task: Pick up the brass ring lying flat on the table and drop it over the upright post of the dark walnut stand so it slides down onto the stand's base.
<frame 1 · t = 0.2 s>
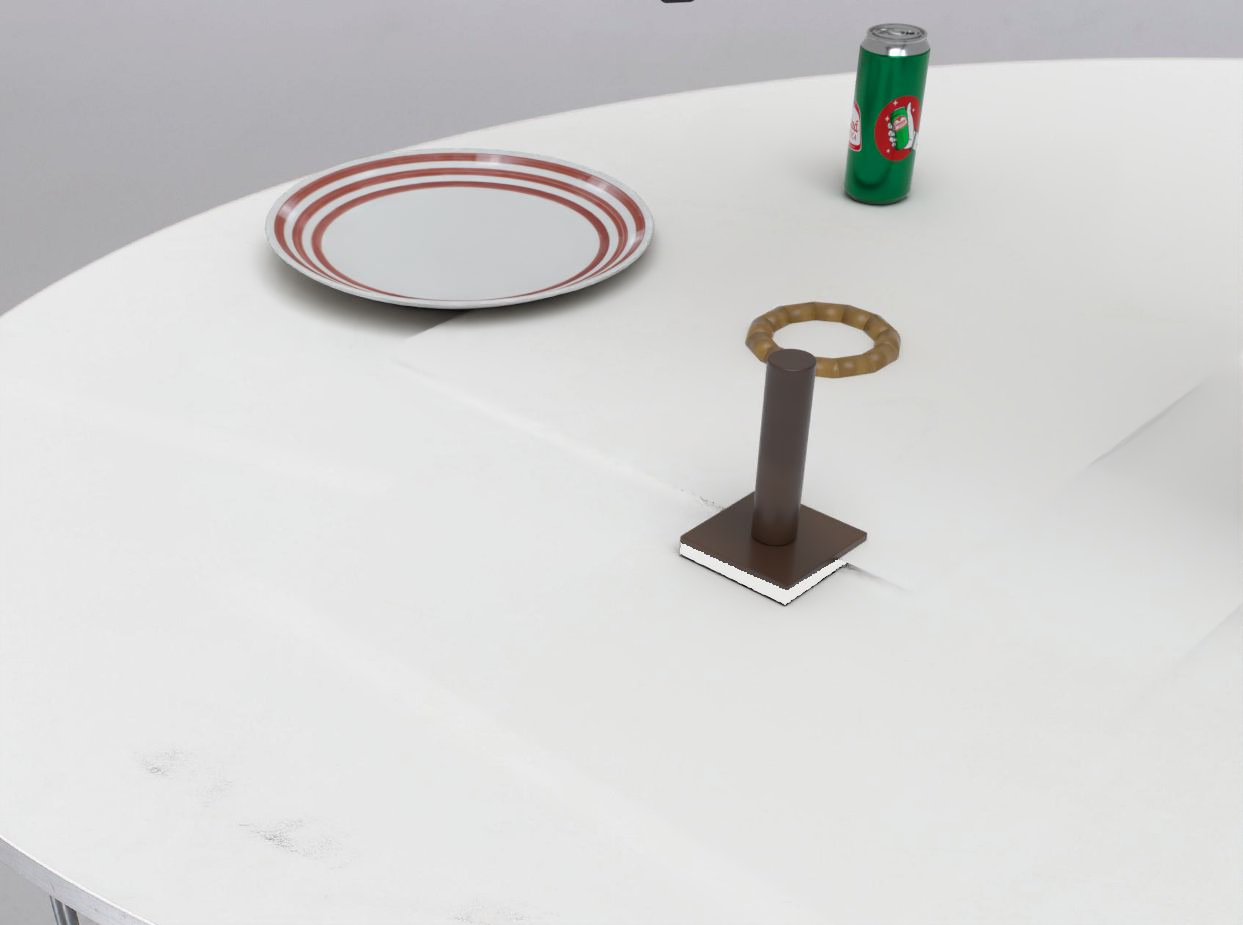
ring: (822, 342, 104), point 1 cm above the table
soda can: (875, 197, 125), on the table
dinner plate: (461, 260, 117), on the table
stand: (771, 553, 86), on the table
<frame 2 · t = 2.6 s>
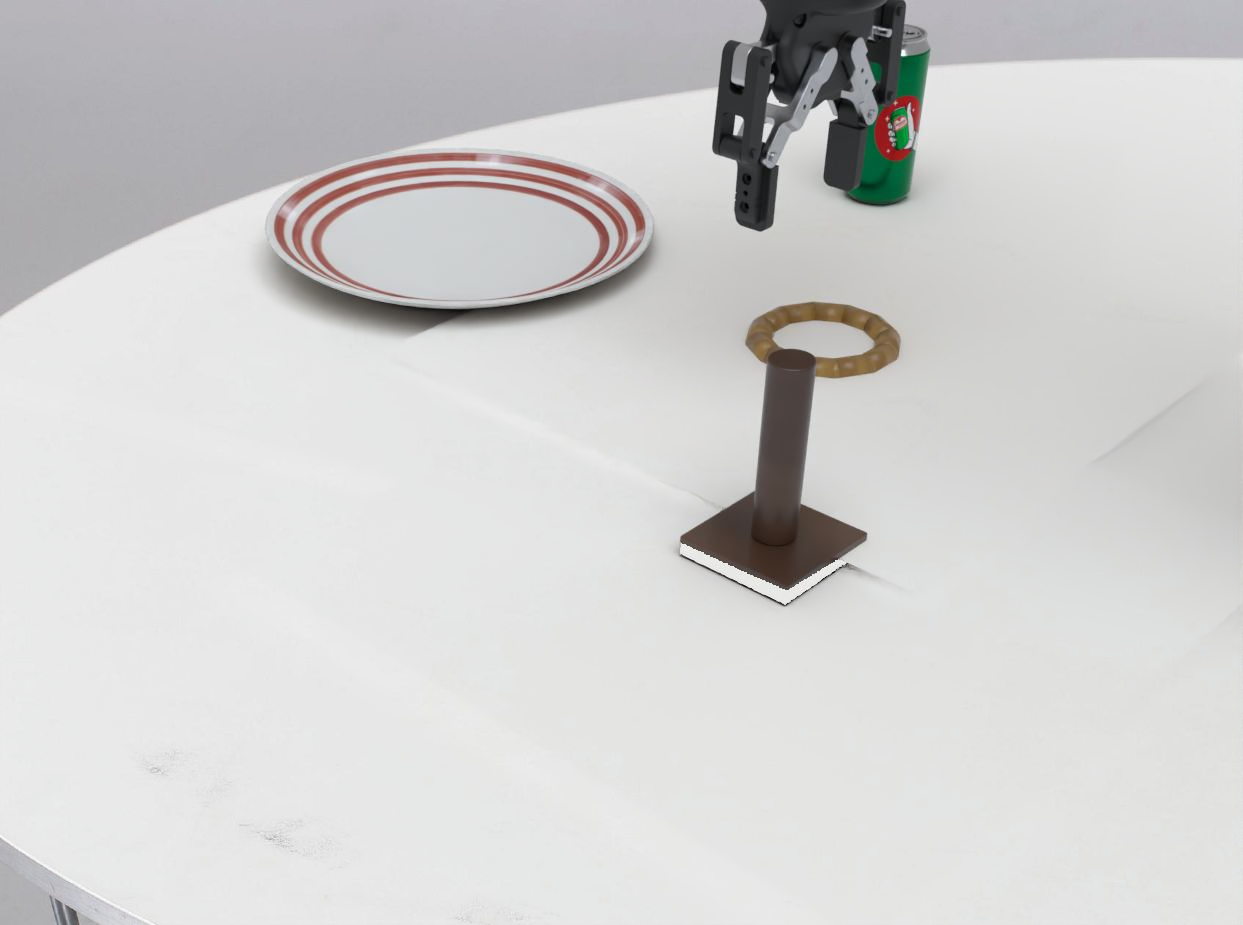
hand: (798, 206, 95), 11 cm above the table, tool pointing down, fingers open, 8 cm apart
nothing on the table moved.
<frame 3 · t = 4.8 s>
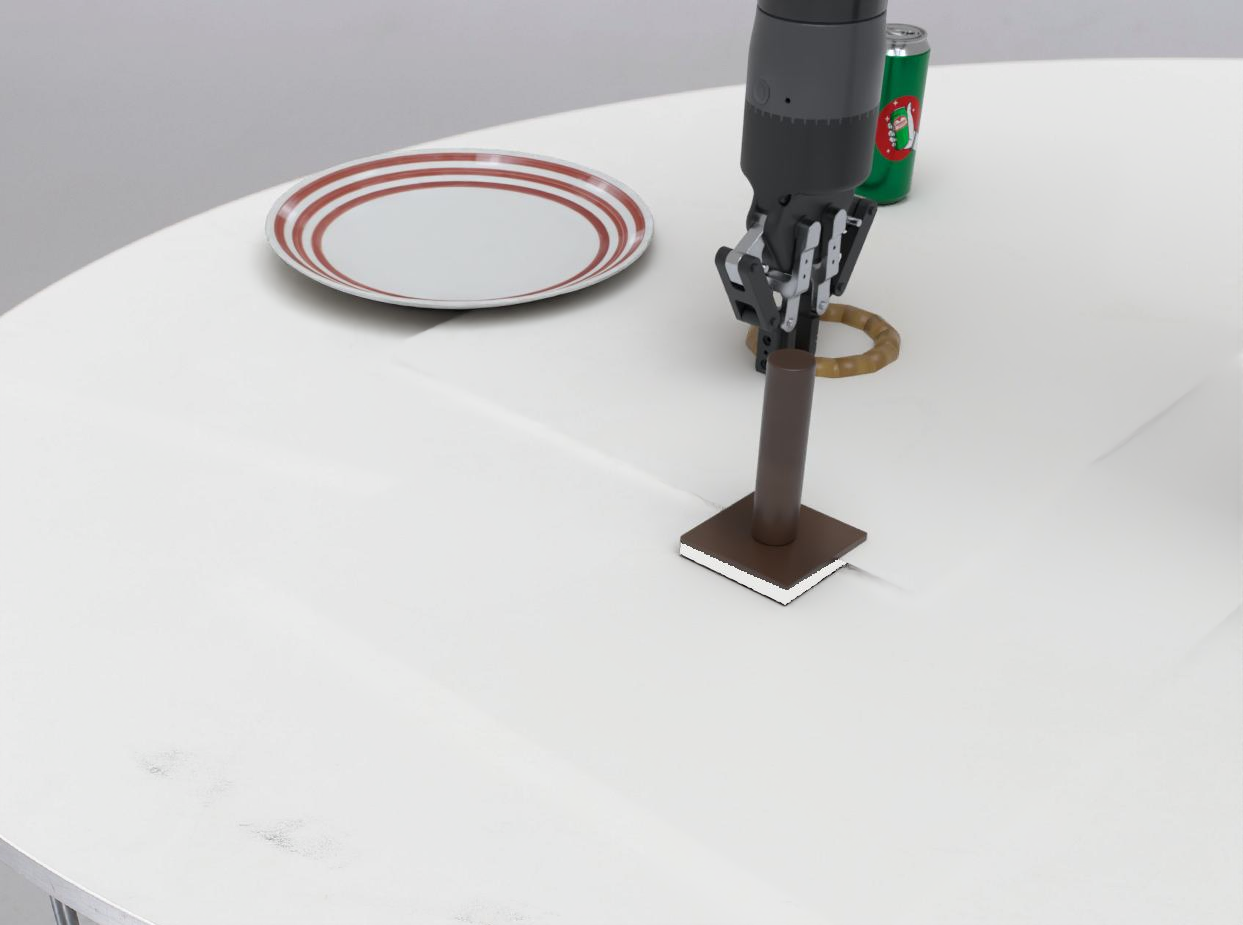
hand: (784, 372, 102), 0 cm above the table, tool pointing down, fingers closed on ring, 1 cm apart
ring: (822, 342, 104), point 1 cm above the table, touching gripper
everything else where it was.
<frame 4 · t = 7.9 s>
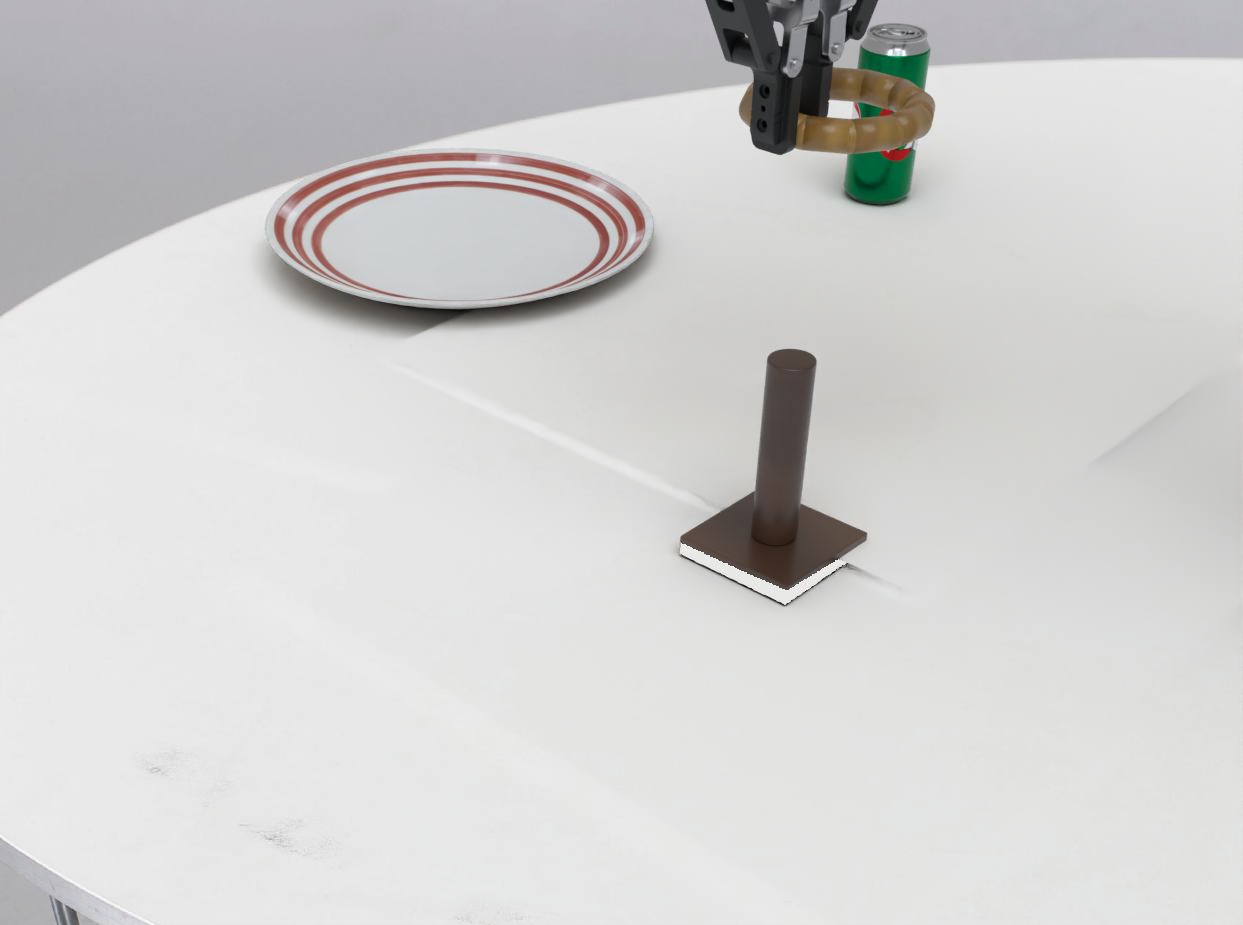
hand: (787, 142, 80), 19 cm above the table, tool pointing down, fingers closed on ring
ring: (836, 108, 82), point 20 cm above the table, touching gripper
everything else where it was.
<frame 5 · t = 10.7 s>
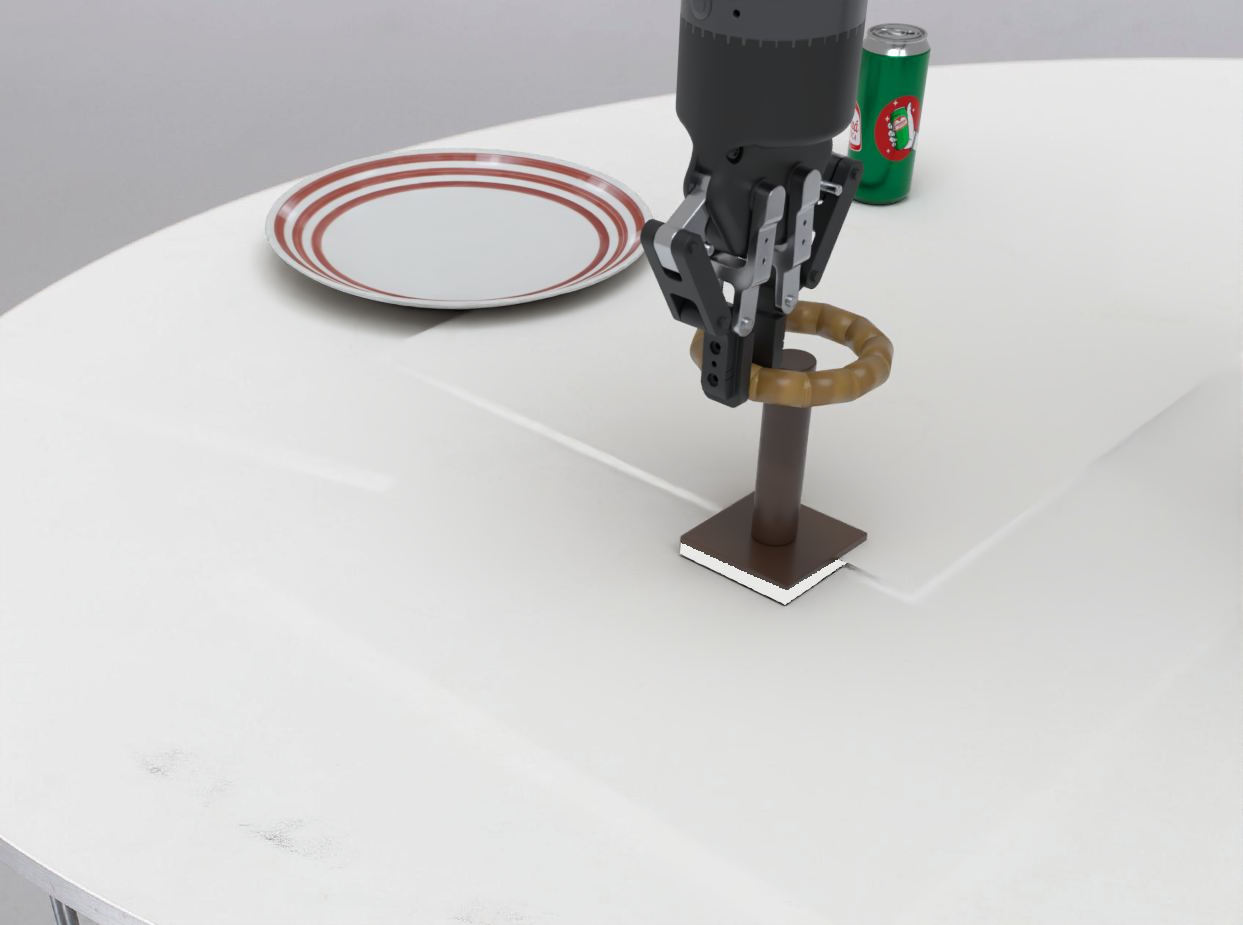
hand: (740, 390, 77), 11 cm above the table, tool pointing down, fingers closed on ring
ring: (791, 350, 79), point 12 cm above the table, touching gripper
everything else where it was.
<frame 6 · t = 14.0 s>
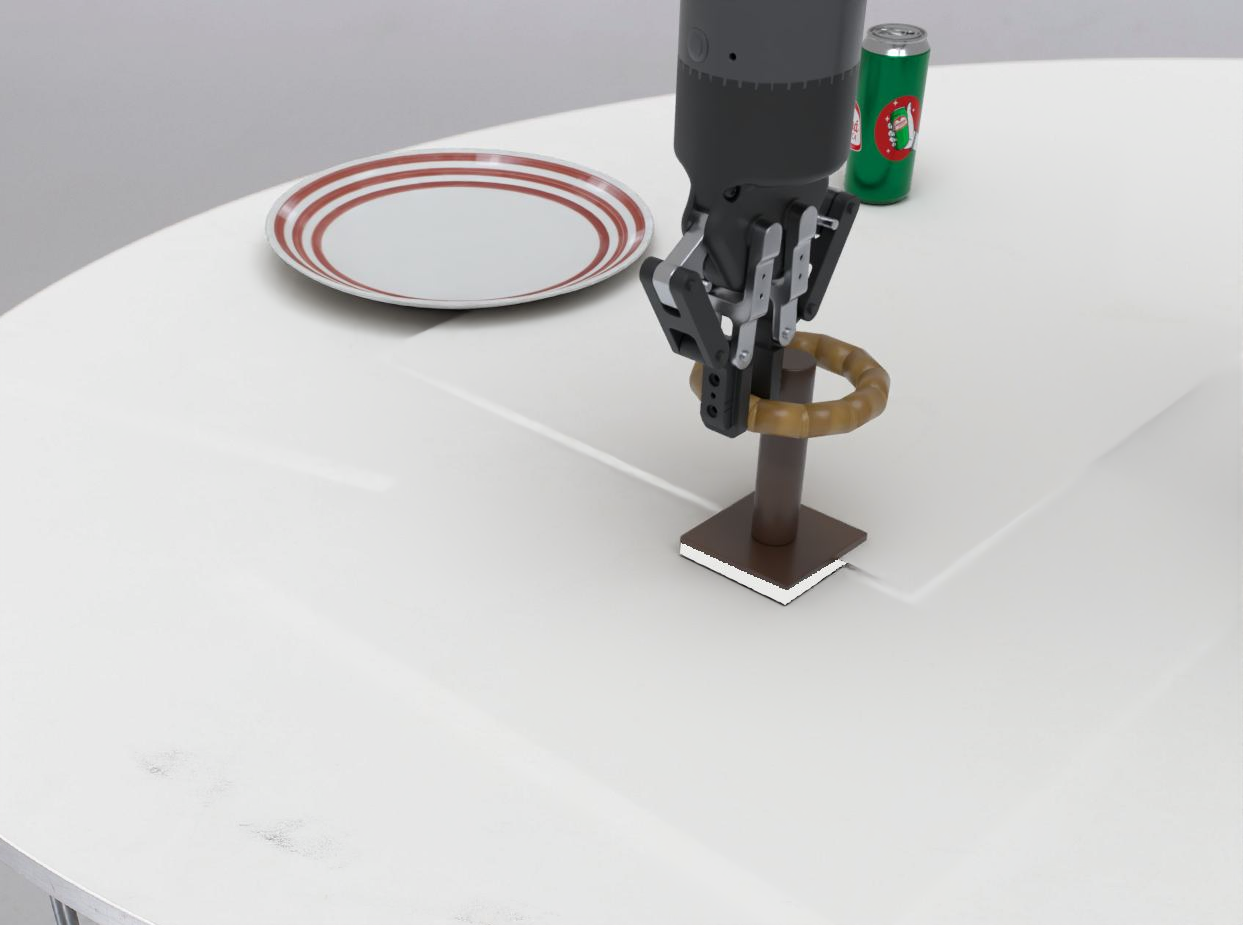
hand: (739, 420, 78), 9 cm above the table, tool pointing down, fingers closed on ring
ring: (789, 381, 80), point 10 cm above the table, touching gripper
everything else where it was.
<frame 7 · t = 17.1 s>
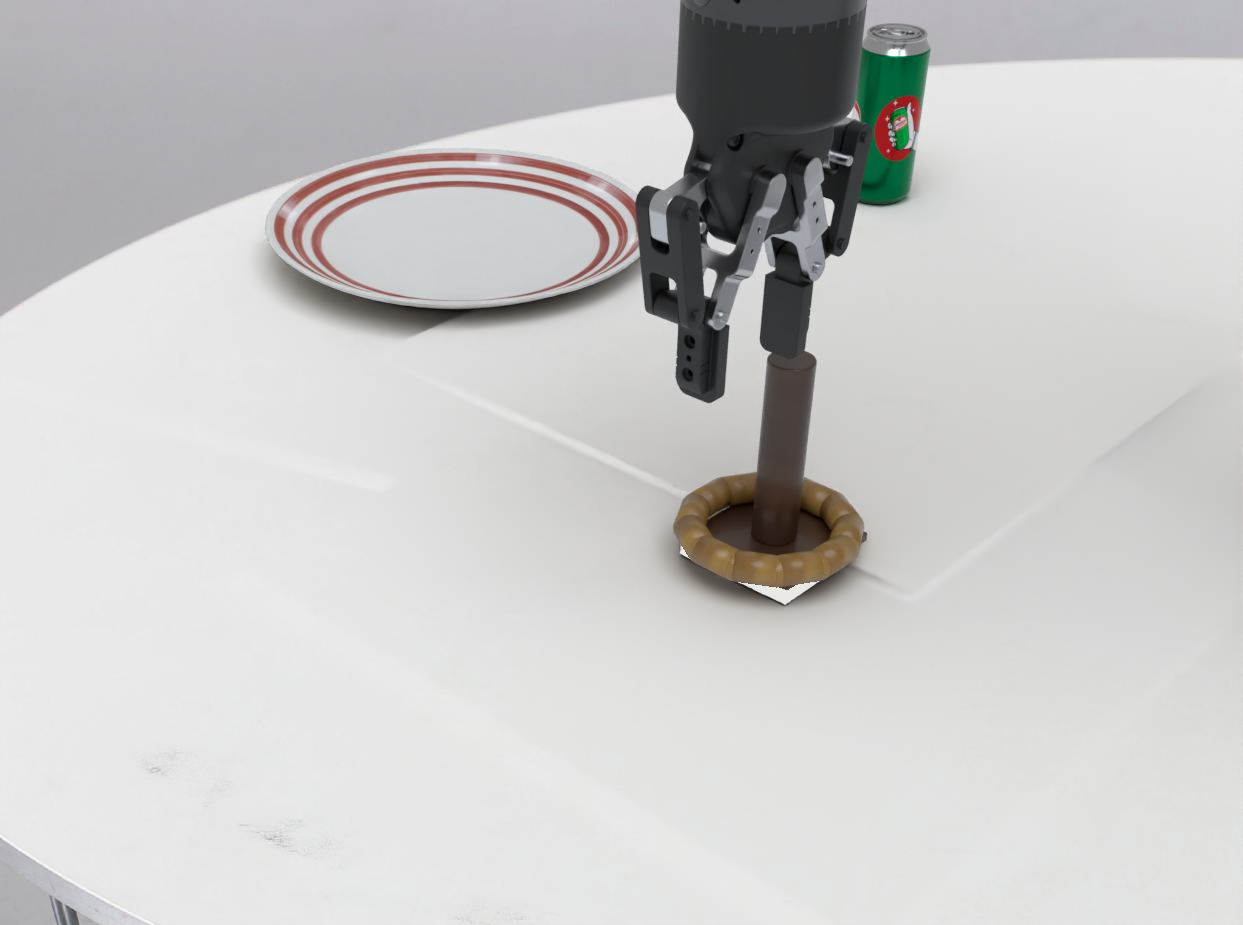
hand: (742, 371, 76), 12 cm above the table, tool pointing down, fingers open, 5 cm apart
ring: (768, 527, 84), point 2 cm above the table, touching stand
everything else where it was.
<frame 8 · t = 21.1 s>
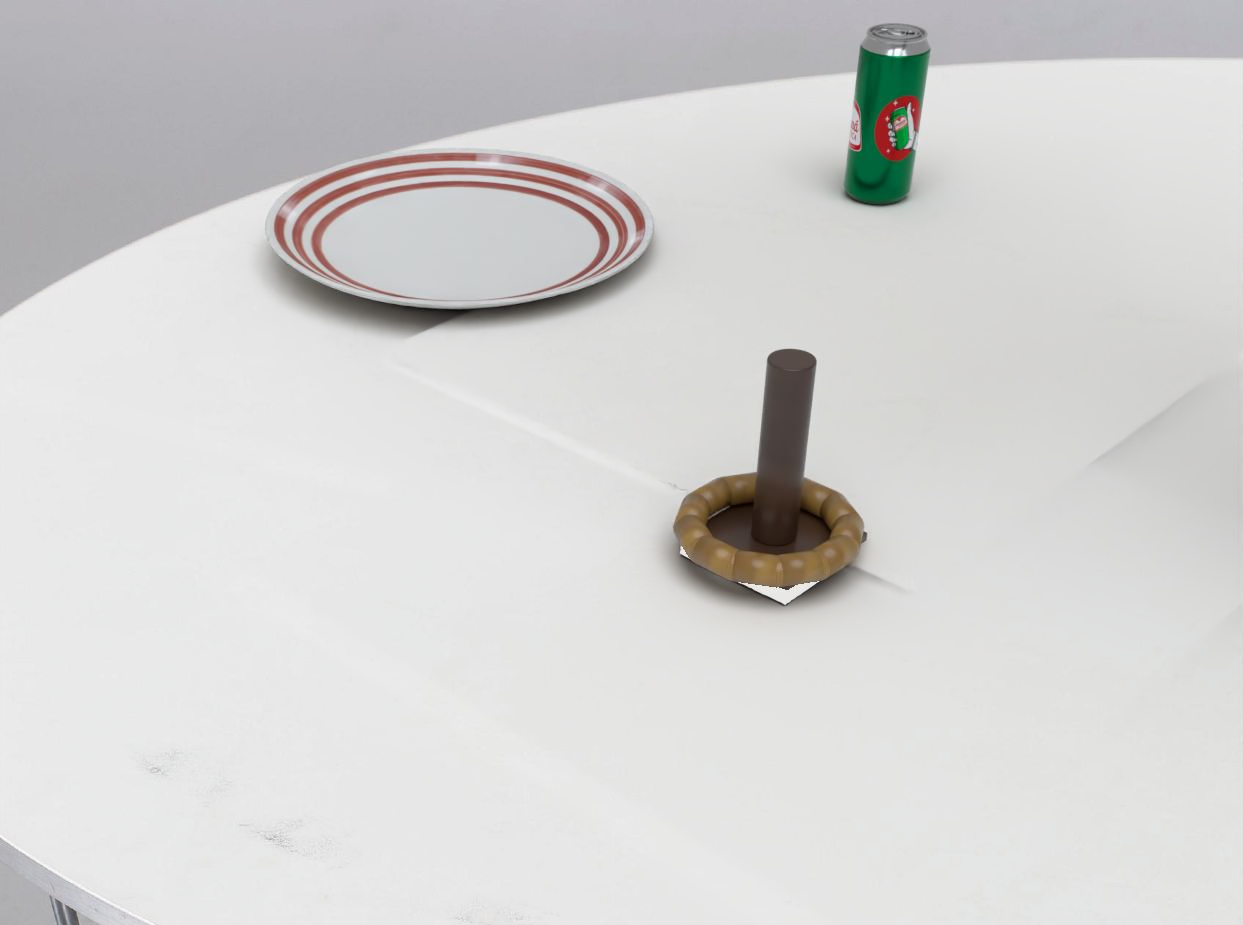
nothing on the table moved.
at the end: ring 0.7 cm off-centre on the stand, point 2.0 cm above the stand's base; the gripper is holding nothing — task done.
